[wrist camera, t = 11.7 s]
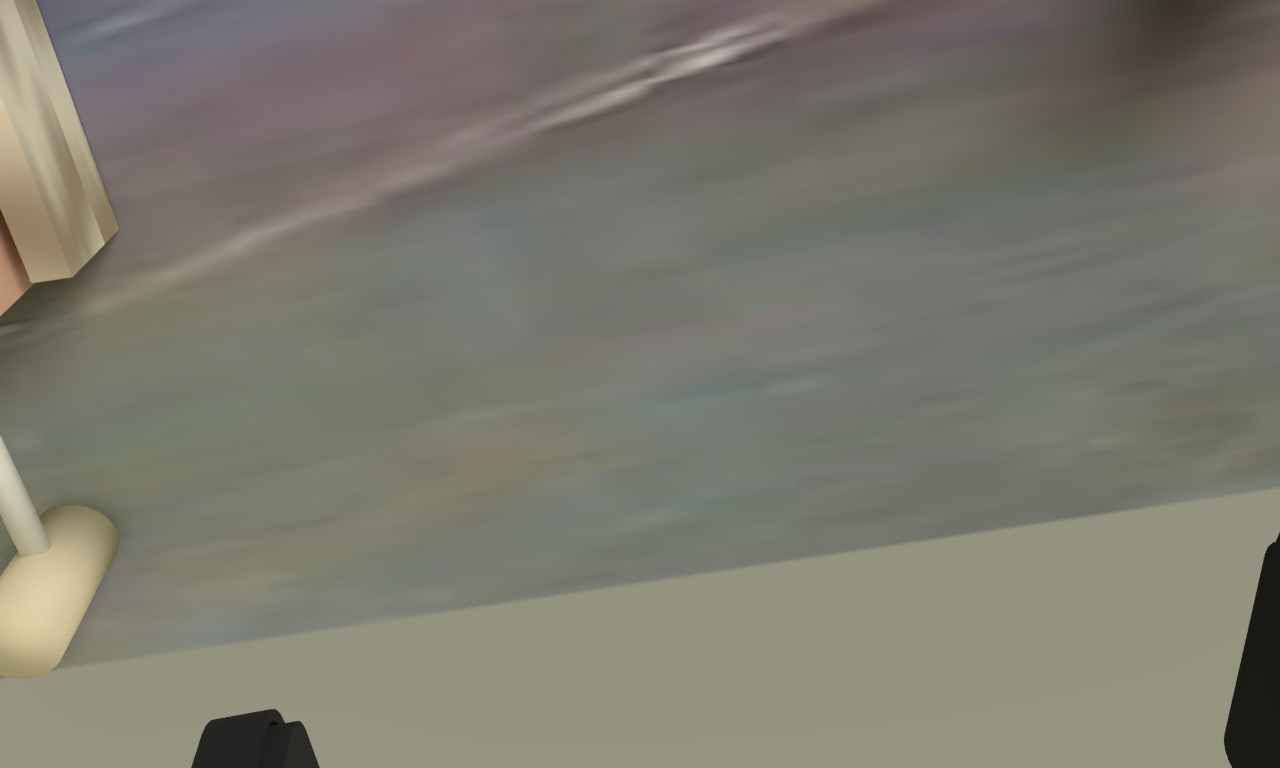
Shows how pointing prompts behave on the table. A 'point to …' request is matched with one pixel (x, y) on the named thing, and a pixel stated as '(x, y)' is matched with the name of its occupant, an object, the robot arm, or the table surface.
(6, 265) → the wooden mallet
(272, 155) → the table surface
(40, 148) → the wooden tray
